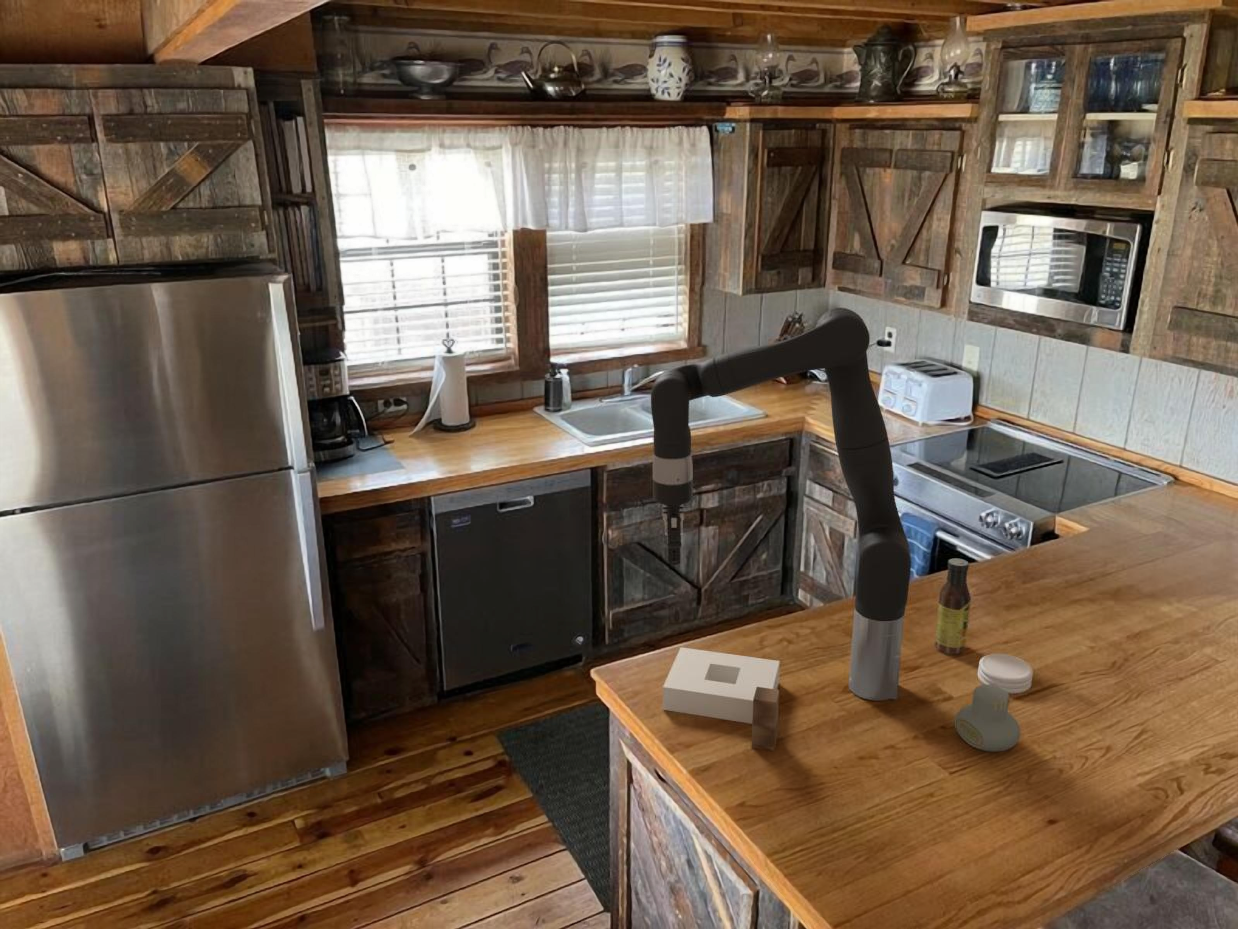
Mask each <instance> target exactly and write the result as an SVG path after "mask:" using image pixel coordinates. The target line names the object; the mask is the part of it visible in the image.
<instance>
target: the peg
mask: <svg viewBox="0 0 1238 929" xmlns="http://www.w3.org/2000/svg"><path fill="white" fill-rule="evenodd" d="M779 700H780V689H777V690H776V689H769V688H762V687H757V688H756V691H755V695H754V699H753V721H752V725H751V726H752V727H751V745H750V746H751V748H753V749H761V750H765V751H766V750H767V751H772V752H775V747H776V745H777V739H778V727H779V726H778V724H779V723H778V721H779V720H778V719H779V707H780V706H779V704H780V703H779V702H780V701H779Z"/></svg>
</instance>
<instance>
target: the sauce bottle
mask: <svg viewBox="0 0 1238 929" xmlns="http://www.w3.org/2000/svg"><path fill="white" fill-rule="evenodd" d="M969 565H970V563H969V562H968V561H967V560H965V559H962V558H958V557H957V558H956V557H955V558H950V559H948V561H947V570H948V571H947V576H946V582H945V583H944V584H943V585H942V586H941V588H940V590H939V600H938V603H937V614H936V624H935V625H936V626H935V633H934V634H935V636H934V641H935V642H934V646H935V648H936V649H937V650H938V651H939V652H941V653H943V654H948V655H959V654H962V652H964V650H965V647H966V646H965V645H966V644H967V637H968V630H969V629H968V628H969V619H970V610H971V609H970V608H971V600H972V597H971V595H970V590H969V588H968V583H967V576H968V571H969V567H970V566H969Z"/></svg>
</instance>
